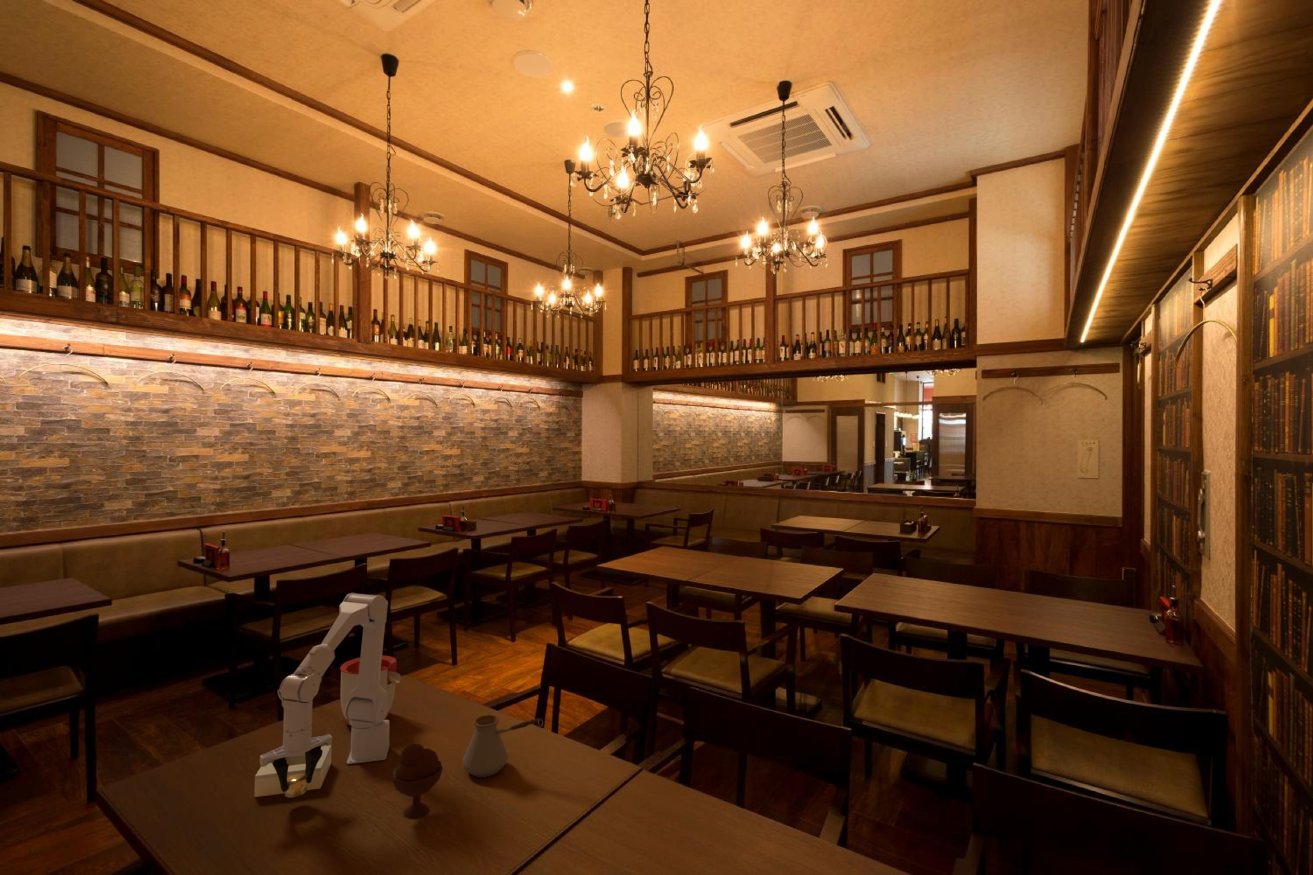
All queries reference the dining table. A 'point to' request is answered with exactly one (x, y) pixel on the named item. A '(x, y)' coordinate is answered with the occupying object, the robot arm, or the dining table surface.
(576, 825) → the dining table surface
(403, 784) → the ice cream bowl
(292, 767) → the beige square holder
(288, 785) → the gold rounded piece
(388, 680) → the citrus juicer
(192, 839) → the dining table surface
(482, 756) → the coffee pot
